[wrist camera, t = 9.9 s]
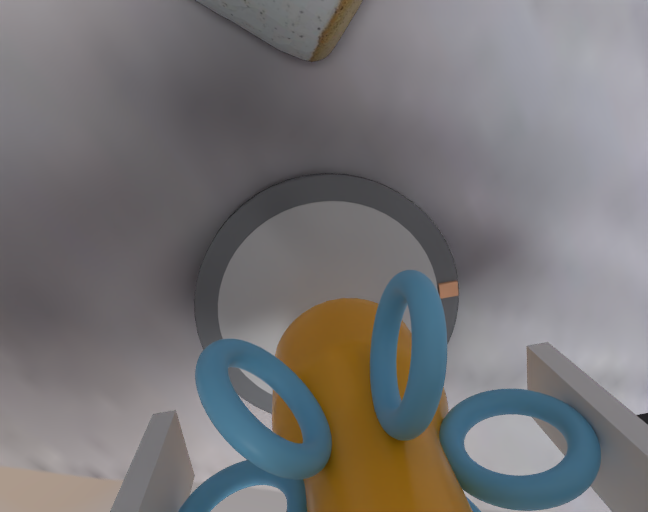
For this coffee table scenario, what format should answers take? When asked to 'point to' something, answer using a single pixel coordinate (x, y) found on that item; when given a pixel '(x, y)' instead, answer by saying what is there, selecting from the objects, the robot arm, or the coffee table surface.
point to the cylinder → (375, 416)
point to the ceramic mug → (291, 22)
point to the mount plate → (312, 261)
